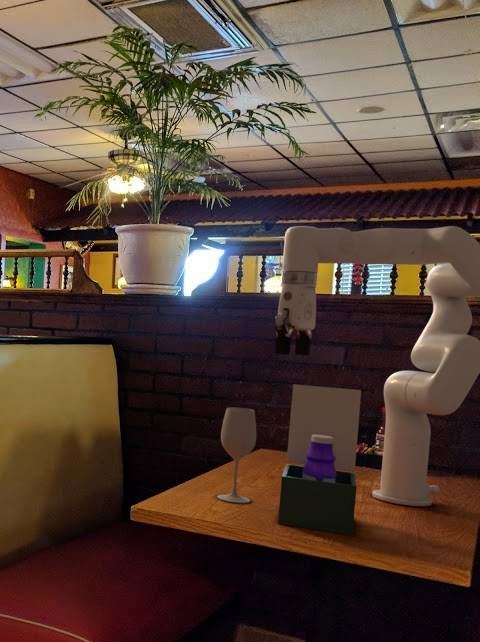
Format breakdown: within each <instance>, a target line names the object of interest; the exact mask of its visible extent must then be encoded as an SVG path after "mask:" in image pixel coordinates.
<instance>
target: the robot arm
mask: <svg viewBox="0 0 480 642" xmlns="http://www.w3.org/2000/svg"><path fill="white" fill-rule="evenodd" d="M284 234H285V235H284V244H283V254H282V258H283V259H282V268H281V277H280V278H281V279H280V287H281V292H280V296H279V301H278V302H279V303H278V309H277V315H276V316H275V317H274V319H275V320H274V321H275V330H276V332H275V336H276V339H275V351H274V352H275V354H276V355H283V356H289V355H291V347H292V337H291V334H292V332H293V330H295V331H296V335H297V337H295V349H294V354H295V355H296V356H310V351H311V340H312V338H313V334H312V333H313V332H314V329H315V328H316V322H317V321H316V320H317V291H316V288H317V282H318V273H319V272H318V271H319V264H356V265H411V266H412V265H416V266H418V265H419V266H422V265H423V266H425V265H435V266H433V267H432V268H431V269H430V271H429V272H428V274H427V278H426V286H427V289H428V291H429V294H430V297H431V300H432V305H433V307H432V308H433V309H432V314H431V316H430V318H429V319H428V322H427V323H426V326H425V327H424V329H423V330H422V332H421V334H420V336H419V337H418V339H417V340H416V342H415V344H414V346H413V348H412V350H411V353H410V360H411V363H412V365H414V366H415V367H416V368H417V369H419V370H421V371H417V370H400V371H397V372H394V373H393V374H391V375H390V376H388V378H387V379H386V381H385V382H384V385H383V399H384V406H385V407H384V408H385V427H384V438H383V439H384V440H383V450H382V451H383V452H382V460H381V461H382V462H381V474H380V485H379V489H374V490H372V492H371V493H372V495H371V496H372V497H373V498H374V499H377V500H379V501H383V502H387V503H391V504H396V505H401V506H408V507H409V506H410V507H430V506H432V505H433V499H432V498H430V497H429V495H430V494H439V493H440V491H441V489H440V486H439V485H430V484H429V483H427V478H428V475H427V474H428V467H429V466H428V465H429V455H430V445H431V435H432V434H431V431H432V430H431V424H430V420H429V417H428V415H435V416H447V415H450V414H452V413H454V412H455V411H457V409H458V408H460V406H461V405H462V403H463V402H464V401H465V399H466V397H467V395H468V394H469V392H470V390H471V388H472V387H473V385H474V383H475V382H476V380H477V379H478V377H479V374H480V340H479V339H478V338H477V337H475V336H473V335H469V334H468V333H469V332H470V329H471V327H472V323H473V315H472V311H471V309H470V306H469V303H468V301H467V298H480V242H478V241H477V240H476V239H475V237H474V236H472V235H471V234H470V233H469V232H468V231H466V230H465V229H463V228H462V227H459V226H456V225H448V226H442V227H434V228H433V227H432V228H400V227H399V228H398V227H397V228H394V227H383V228H380V227H379V228H371V229H364V230H358V231H351V230H350V229H348V228H343V227H331V228H317V227H315V226H308V225H297V226H291V227H288V228H287V230H286V231H285V233H284ZM427 414H428V415H427Z"/></svg>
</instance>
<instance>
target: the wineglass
mask: <svg viewBox="0 0 480 642" xmlns="http://www.w3.org/2000/svg"><path fill="white" fill-rule="evenodd" d="M220 441H221V442H220V443H221V445H222V447H223V449H224V450H225V452H226V453H227V454H228V455H229V456H230V457H231V458H232V459H233V461H234V462H233V463H234V467H233V480H232V481H233V482H232V489H231V491H230V493H227V494H218V495H217V496H216V497H217V499H218V500H220V501H223V502H226V503H231V504H233V503H234V504H249V503H251V499H249V498H248V497H245V496H242V495H239V493H238V492H237V482H238V470H239V462H240V461H241V460H242V459H243V458H245V457H246V456H248V455H249V454H250V453H251V452H252V451H253V450H254V449H255V446H256V442H257V422H256V413H255V409H252V408H246V407H232V406H231V407H230V406H229V407H226V409H225V414H224V416H223V421H222V427H221V430H220Z"/></svg>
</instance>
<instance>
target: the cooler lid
mask: <svg viewBox="0 0 480 642" xmlns="http://www.w3.org/2000/svg"><path fill="white" fill-rule="evenodd" d="M361 396H362V390H361V389H351V388H339V387H329V386H316V385H307V384H306V385H305V384H293V385H292V397H291V406H290V407H291V408H290V420H289V428H288V430H289V431H288V442H287V452H286V453H287V454H286V463H292V464H298V465H299V464H300V465H304V464H305V462H306V461H307V457H306V454H307V452H308V451H309V449H310V446H311V438H312V435H326V436H331V437H333V454H334V456H335V458H336V460H335V461H334V466H335V469H339V470H347V471H355V472H356V464H357V463H356V462H357V461H356V460H357V449H358V437H359V425H360V411H361V410H360V408H361Z"/></svg>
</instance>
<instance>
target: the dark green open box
mask: <svg viewBox="0 0 480 642" xmlns="http://www.w3.org/2000/svg"><path fill="white" fill-rule="evenodd" d="M303 467H304V465H299V464H298V465H297V464H289V463H286V465H285V467H284V470H283V472H282V475H281V480H280V481H281V482H280V492H279V493H280V494H279V507H278V521H277V524H278V525H279V524H280V525H283V526H284V525H285V526H291V527H297V528H303V529H310V530H316V531H321V532H327V533H334V534H340V535H346V536H353V533H354V522H355V510H356V498H357V479H356V474H355V472H352V471H344V470H336V469H335V470H336V482H335V483H332V482H325V481H317V480H310V479H303V478H302V476H303Z"/></svg>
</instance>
